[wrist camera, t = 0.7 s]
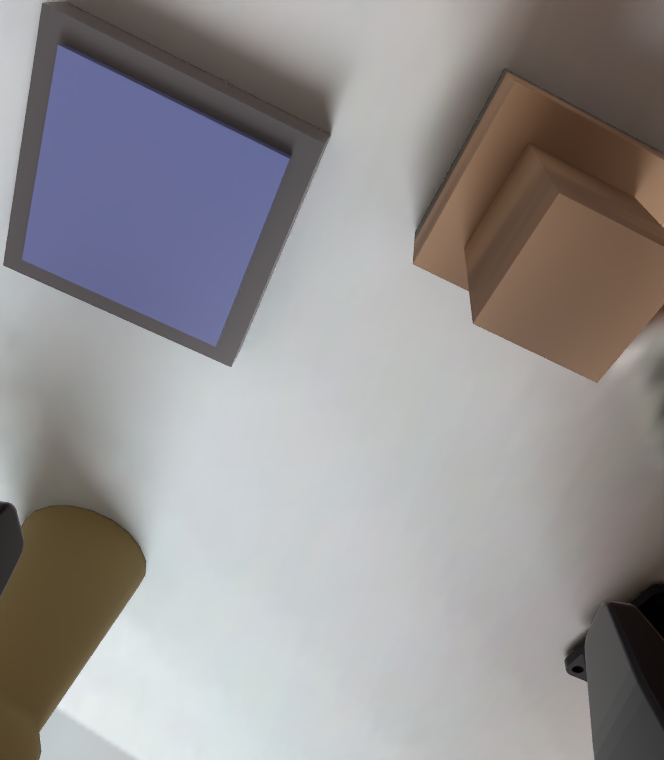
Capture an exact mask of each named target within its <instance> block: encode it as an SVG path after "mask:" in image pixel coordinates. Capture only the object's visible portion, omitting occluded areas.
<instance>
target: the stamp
mask: <svg viewBox="0 0 664 760" xmlns="http://www.w3.org/2000/svg"><path fill="white" fill-rule="evenodd" d="M663 222H664V153H662V152H660V151H658V150H657V149H655V148H653V147H651V146H649V145H647V144H645V143H643V142H642V141H640V140H638V139H636V138H634V137H632V136H630V135H628V134H626V133H625V132H623V131H621V130H619V129H617V128H615V127H613V126H611V125H610V124H608V123H606V122H604V121H602V120H600V119H598V118H596V117H595V116H593V115H591V114H589V113H587V112H585V111H583V110H581V109H580V108H578V107H576V106H574V105H572V104H570V103H568V102H566V101H565V100H563V99H561V98H559V97H557V96H555V95H553V94H551V93H550V92H548V91H546V90H544V89H542V88H540V87H538V86H536V85H535V84H533V83H531V82H529V81H527V80H525V79H523V78H521V77H520V76H518V75H516V74H514V73H512V72H510V71H508V70H506V69H504V71H503V73H502V75H501V76H500V78H499V80H498V82H497V84H496V86H495V87H494V89H493V91H492V93H491V95H490V97H489V98H488V100H487V102H486V104H485V106H484V108H483V109H482V111H481V113H480V115H479V117H478V119H477V120H476V122H475V124H474V126H473V128H472V130H471V131H470V133H469V135H468V137H467V139H466V141H465V142H464V144H463V146H462V148H461V150H460V152H459V153H458V155H457V157H456V159H455V161H454V163H453V164H452V166H451V168H450V170H449V172H448V174H447V175H446V177H445V179H444V181H443V183H442V185H441V186H440V188H439V190H438V192H437V194H436V196H435V197H434V199H433V201H432V203H431V205H430V207H429V208H428V210H427V212H426V214H425V216H424V218H423V219H422V221H421V223H420V225H419V227H418V229H417V230H416V232H415V241H414V255H413V264H414V265H416V266H418V267H420V268H422V269H424V270H426V271H428V272H430V273H432V274H434V275H436V276H439V277H441V278H443V279H445V280H447V281H449V282H451V283H453V284H455V285H457V286H459V287H461V288H463V289H465V290H468V291H469V294H470V303H471V311H472V320H473V324H475V325H477V326H479V327H481V328H483V329H485V330H488V331H490V332H492V333H494V334H496V335H498V336H500V337H502V338H504V339H506V340H508V341H511V342H513V343H515V344H517V345H519V346H521V347H523V348H525V349H527V350H529V351H531V352H534V353H536V354H538V355H540V356H542V357H544V358H546V359H548V360H550V361H552V362H555V363H557V364H559V365H561V366H563V367H565V368H567V369H569V370H571V371H573V372H575V373H578V374H580V375H582V376H584V377H586V378H588V379H590V380H592V381H594V382H596V383H597V382H598V381H599V380H600V379H601V378H602V376H603V375H604V374H605V373H606V372H607V371H608V369H609V368H610V367H611V366H612V365H613V363H614V362H615V361H616V360H617V359H618V358H619V356H620V355H621V354H622V353H623V352H624V350H625V349H626V348H627V347H628V346H629V345H630V343H631V342H632V341H633V340H634V339H635V337H636V336H637V335H638V334H639V333H640V332H641V330H642V329H643V328H644V327H645V326H646V324H647V323H648V322H649V321H650V320H651V319H652V317H653V316H654V315H655V314H656V313H657V312H658V310H659V309H660V308H661V307H662V306H663V304H664V228H663V227H662V226H661V225H662V223H663Z"/></svg>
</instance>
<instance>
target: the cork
mask: <svg viewBox="0 0 664 760" xmlns="http://www.w3.org/2000/svg"><path fill="white" fill-rule="evenodd" d="M21 530H22V534H23V538H24V547H23V552H22V555H21V557H20V559H19V561H18V563H17V565H16V567H15V569H14V571H13V573H12V575H11V577H10V579H9V582H8V584H7V586H6V588H5V590H4V592H3V594H2V596H1V598H0V760H39V758H40V755H41V744H40V735H39V732H40V730H41V729H42V727H43V726H44V725H45V723H46V722H47V720H48V719H49V717H50V716H51V714H52V712H53V711H54V710H55V708H56V707H57V705H58V704H59V703H60V701H61V700H62V698H63V697H64V695H65V694H66V692H67V691H68V689H69V688H70V686H71V685H72V683H73V682H74V681H75V679H76V678H77V676H78V675H79V673H80V672H81V670H82V669H83V667H84V666H85V664H86V663H87V661H88V660H89V658H90V657H91V656H92V654H93V653H94V651H95V650H96V648H97V647H98V645H99V644H100V642H101V641H102V639H103V638H104V636H105V635H106V634H107V632H108V631H109V629H110V628H111V626H112V625H113V623H114V622H115V620H116V619H117V617H118V616H119V614H120V613H121V612H122V610H123V609H124V607H125V606H126V604H127V603H128V601H129V600H130V598H131V597H132V595H133V594H134V592H135V591H136V589H137V588H138V587H139V585H140V583H141V582H142V580H143V578H144V576H145V570H146V561H145V558H144V556H143V553H142V551H141V549H140V546H139V545H138V544H137V543H136V542H135V540H134V539H133V538H132V537H131V536H130V534H129V533H128V532H127V531H125V530H124V529H123V528H121V527H120V526H119V525H117V524H116V523H115V522H113V521H112V520H110V519H108V518H106V517H104V516H102V515H100V514H97V513H95V512H93V511H90V510H86V509H82V508H78V507H73V506H50V507H47V508H44V509H41V510H37V511H35V512H34V513H33V514H32V515H31V516H29V517H28V518H27V519H26V520H25V522H24V523H23V525H22V527H21Z"/></svg>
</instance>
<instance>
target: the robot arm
mask: <svg viewBox="0 0 664 760" xmlns="http://www.w3.org/2000/svg"><path fill="white" fill-rule="evenodd" d="M23 547H24V538H23V534H22V530H21V526H20V522H19V519H18V515H17V511H16V508H15V507H14V506H13V505H12V504H11V503H8V502H2V501H0V598H1V596H2V594H3V592H4V590H5V588H6V586H7V584H8V582H9V579H10V577H11V575H12V573H13V571H14V569H15V567H16V565H17V563H18V561H19V559H20V557H21V555H22V552H23ZM565 667H566V671H567V673H568V674H570V675H572V676H574V677H577V678H579V679H582V680H584V681H586V682H588V694H589V706H590V717H591V729H592V741H593V750H594V759H595V760H664V585H663V584H657V585H653V586H651V587H649V588H648V589H647V590H645V591H644V592H643V593H642V594H641V595H640V596H638V597H637V598H636V599H635V600H634V601H633V602H631V603H630V604H629V603H623V602H617V601H611V600H605V601H604V602H602V603H601V605H600V606H599V609H598V611H597V613H596V615H595V617H594V620H593V622H592V624H591V626H590V628H589V631H588V633H587V635H586V640H585V642H584V643H583V644H582V645H581V646H580V647H578V648H577V649H576V650H575V651H574V652H572V653H571V654H570V655H569V656H568V657H567V658H566V659H565Z"/></svg>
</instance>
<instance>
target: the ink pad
mask: <svg viewBox="0 0 664 760" xmlns="http://www.w3.org/2000/svg"><path fill="white" fill-rule="evenodd" d="M330 136H331V135H330V134H328V133H326V132H324V131H322V130H320V129H318V128H316V127H314V126H312V125H310V124H308V123H306V122H304V121H302V120H300V119H298V118H296V117H294V116H292V115H290V114H288V113H286V112H284V111H282V110H280V109H278V108H276V107H274V106H272V105H270V104H268V103H266V102H264V101H262V100H260V99H258V98H256V97H254V96H252V95H250V94H248V93H246V92H244V91H242V90H240V89H238V88H236V87H234V86H232V85H230V84H228V83H226V82H224V81H222V80H220V79H218V78H216V77H214V76H212V75H210V74H208V73H206V72H204V71H202V70H200V69H198V68H196V67H195V66H193V65H191V64H189V63H187V62H185V61H183V60H181V59H179V58H177V57H175V56H173V55H171V54H169V53H167V52H165V51H163V50H161V49H159V48H157V47H155V46H153V45H151V44H149V43H147V42H145V41H143V40H141V39H139V38H137V37H135V36H133V35H131V34H129V33H127V32H125V31H123V30H121V29H119V28H117V27H115V26H113V25H111V24H109V23H107V22H105V21H103V20H101V19H99V18H97V17H95V16H93V15H91V14H89V13H87V12H85V11H83V10H81V9H79V8H77V7H75V6H73V5H71V4H69V3H67V2H49V3H42V9H41V15H40V22H39V29H38V36H37V42H36V49H35V56H34V62H33V69H32V76H31V82H30V89H29V96H28V103H27V109H26V116H25V123H24V129H23V136H22V143H21V149H20V156H19V163H18V169H17V176H16V183H15V190H14V196H13V203H12V210H11V216H10V223H9V230H8V236H7V243H6V250H5V256H4V263H3V265H4V266H6V267H8V268H10V269H13V270H15V271H17V272H19V273H22V274H24V275H26V276H28V277H30V278H33V279H35V280H37V281H39V282H42V283H44V284H46V285H48V286H51V287H53V288H55V289H57V290H60V291H62V292H64V293H66V294H69V295H71V296H73V297H75V298H77V299H80V300H82V301H84V302H86V303H89V304H91V305H93V306H95V307H98V308H100V309H102V310H104V311H107V312H109V313H111V314H113V315H116V316H118V317H120V318H122V319H124V320H127V321H129V322H131V323H133V324H136V325H138V326H140V327H142V328H145V329H147V330H149V331H151V332H154V333H156V334H158V335H160V336H163V337H165V338H167V339H169V340H171V341H174V342H176V343H178V344H180V345H183V346H185V347H187V348H189V349H192V350H194V351H196V352H198V353H201V354H203V355H205V356H207V357H210V358H212V359H214V360H216V361H218V362H221V363H223V364H225V365H227V366H230V367H231V366H232V364H233V363H234V361H235V359H236V357H237V355H238V353H239V351H240V349H241V347H242V344H243V342H244V340H245V337H246V335H247V333H248V330H249V328H250V326H251V323H252V321H253V318H254V316H255V314H256V311H257V309H258V307H259V304H260V302H261V300H262V297H263V295H264V292H265V290H266V288H267V285H268V283H269V281H270V278H271V276H272V274H273V271H274V269H275V266H276V264H277V262H278V259H279V257H280V255H281V252H282V250H283V248H284V245H285V243H286V240H287V238H288V236H289V233H290V231H291V229H292V226H293V224H294V222H295V219H296V217H297V214H298V212H299V210H300V207H301V205H302V203H303V200H304V198H305V196H306V193H307V191H308V188H309V186H310V184H311V181H312V179H313V177H314V174H315V172H316V170H317V167H318V165H319V162H320V160H321V158H322V155H323V153H324V151H325V148H326V146H327V144H328V141H329V139H330Z"/></svg>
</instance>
